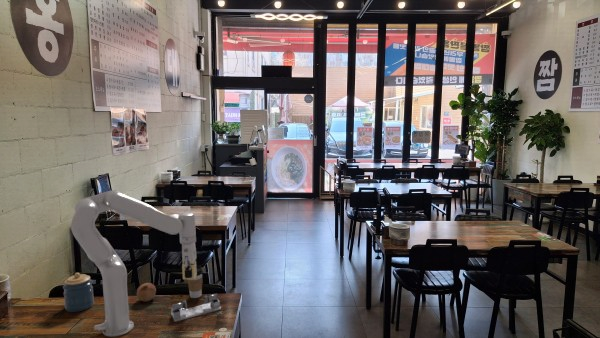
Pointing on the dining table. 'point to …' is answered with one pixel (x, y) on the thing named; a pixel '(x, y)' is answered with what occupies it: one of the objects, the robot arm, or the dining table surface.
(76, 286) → the canister
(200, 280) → the coffee cup
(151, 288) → the onion
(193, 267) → the tan wooden cube
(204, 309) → the shaft bench
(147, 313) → the dining table surface
